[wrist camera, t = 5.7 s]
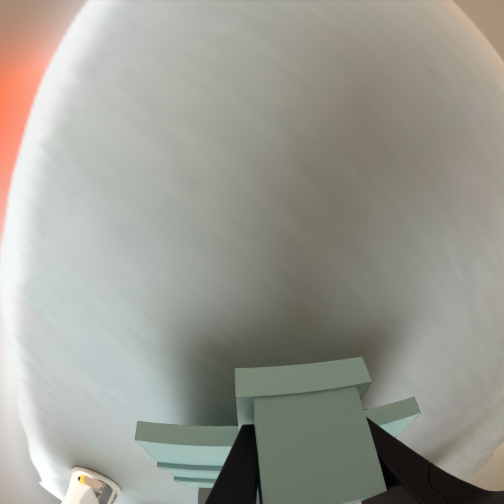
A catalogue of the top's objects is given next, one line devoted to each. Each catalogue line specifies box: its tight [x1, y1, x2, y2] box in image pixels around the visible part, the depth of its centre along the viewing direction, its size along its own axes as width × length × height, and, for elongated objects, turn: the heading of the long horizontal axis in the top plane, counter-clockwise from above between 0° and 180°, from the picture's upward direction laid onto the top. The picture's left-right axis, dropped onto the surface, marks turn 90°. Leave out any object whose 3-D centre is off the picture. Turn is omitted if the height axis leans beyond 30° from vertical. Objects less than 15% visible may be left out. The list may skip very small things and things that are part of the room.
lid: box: [135, 357, 421, 504], centre depth 10 cm, size 13×17×4 cm
